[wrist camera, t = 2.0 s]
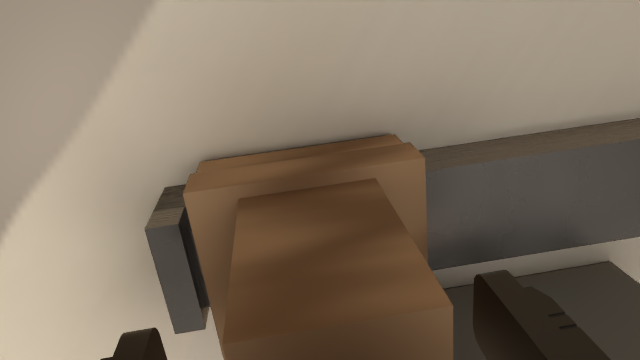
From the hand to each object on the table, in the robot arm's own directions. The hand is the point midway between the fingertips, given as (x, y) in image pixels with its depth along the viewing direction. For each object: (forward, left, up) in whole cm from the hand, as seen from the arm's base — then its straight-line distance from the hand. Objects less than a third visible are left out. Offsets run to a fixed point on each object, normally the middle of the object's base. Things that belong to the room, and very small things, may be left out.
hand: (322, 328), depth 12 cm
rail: (-5, 0, -7) cm, 9 cm away
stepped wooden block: (0, 0, -6) cm, 6 cm away
